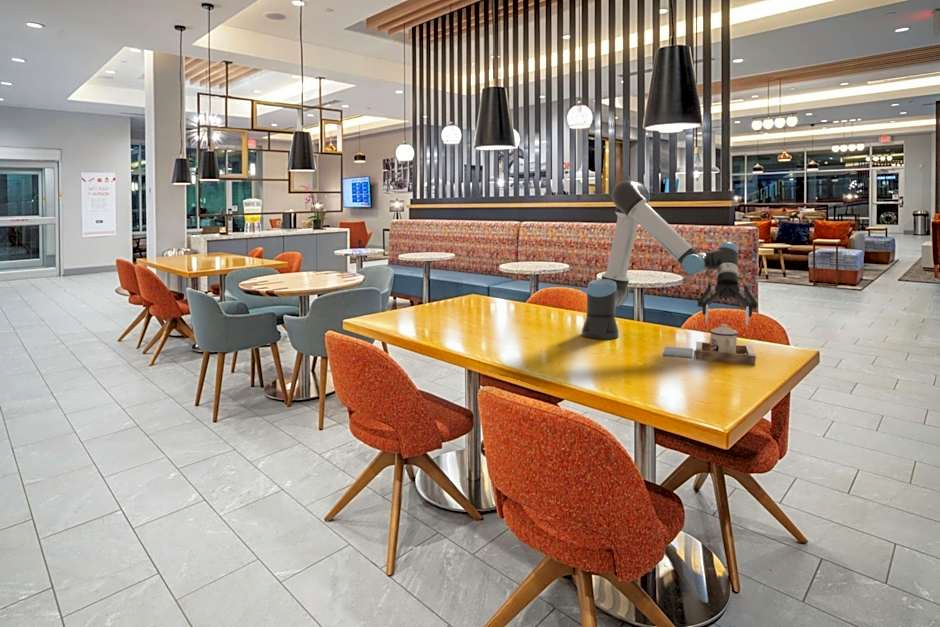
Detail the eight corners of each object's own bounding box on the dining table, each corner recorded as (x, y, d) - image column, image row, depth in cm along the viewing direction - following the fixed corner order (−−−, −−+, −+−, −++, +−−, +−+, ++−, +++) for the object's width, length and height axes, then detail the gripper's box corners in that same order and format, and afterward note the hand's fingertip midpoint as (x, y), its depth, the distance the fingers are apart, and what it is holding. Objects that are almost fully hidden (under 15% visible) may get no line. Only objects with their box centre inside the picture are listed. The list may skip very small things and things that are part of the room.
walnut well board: (695, 359, 205) (695, 351, 205) (695, 349, 222) (696, 341, 221) (755, 364, 199) (755, 356, 198) (751, 353, 215) (751, 345, 215)
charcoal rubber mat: (662, 355, 211) (662, 354, 211) (665, 347, 225) (665, 346, 224) (692, 358, 207) (692, 357, 207) (693, 349, 221) (693, 348, 221)
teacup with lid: (704, 352, 216) (706, 321, 214) (729, 353, 216) (731, 321, 214) (717, 360, 204) (720, 327, 203) (744, 360, 204) (746, 327, 202)
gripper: (692, 270, 225) (690, 314, 214) (764, 271, 217) (766, 317, 205) (692, 282, 231) (689, 325, 220) (762, 284, 222) (763, 330, 211)
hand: (726, 322), depth 212 cm, fingers open, 13 cm apart
